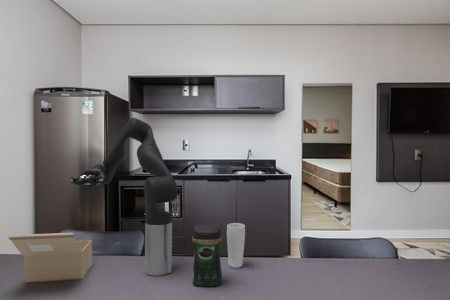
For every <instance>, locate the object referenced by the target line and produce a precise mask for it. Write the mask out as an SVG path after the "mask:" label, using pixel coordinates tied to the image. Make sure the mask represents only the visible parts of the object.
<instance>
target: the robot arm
mask: <svg viewBox="0 0 450 300" xmlns="http://www.w3.org/2000/svg"><path fill="white" fill-rule="evenodd" d="M128 138H130V139H133V140H135V141H137V142H139V143H140V145H139V146H138V148H137V149H136V157H137V160H138V163H139V166H140V167H141V168H142V169H143V170H145V171H146V173H148V174H150V175H152V176H151V177H147V178H146V180H145V181H144V191H143V192H144V211H145V212H144V214H145V216H144V218H145V223H144V224H145V225H144V227H145V229H144V230H145V233H144V235H145V238H144V239H145V241H144V250H145V251H144V252H145V253H144V272H145V274H146V275H149V276H153V277H157V276H164V275H167V274H171V273H173V272H172V271H173V270H172V269H173V268H172V267H173V265H172V264H173V262H172V260H173V214H172V213H171V212H169V211H166V210H162V209H160V208H158V207H157V204H162V203H163V204H164V203H171V202H174V201H175V200H176V199H177V198H178V193H179V192H178V190H179V189H178V184H177V182H176V180H175V178H174V176H173V174H172V173H171V171H170V170H169V168H168V167H167V165H166V163H165V160H164V158H163V156H162V153H161V150H160V149H159V146H158V144H157V142H156V138H155V137H154V132H153V128H152V127H151V125H150V124H149V123H147V122H145V121H143V120H141V119H139V118H136V117H131V118H130V119H128V121H126V123H125V125H124V127H123V128H122V130H121V132H120V133H119V136H118V137H117V140H116V141H115V143H114V145H113V147H112V148H111V150H110V151H109V152H108V154H107V155H106V157H105V158H104V159H103V161H102V164H101V163H98V164H96V165H94V166H93V167H92V168H91V169H88V170H85V171H83V172H82V174H81V175H80V176H77V177H76V176H70V184H72V185H78V186H84V187H85V188H94V187H96V186H99V185H100V184H102V185H107V184H109V183H111V182H112V180H113V177H114V175H115V172H116V169H118V167H119V165H120V164H121V163H122V162H123V161H124V158H125V156H126V155H125V154H126V142H127V140H128Z"/></svg>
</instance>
